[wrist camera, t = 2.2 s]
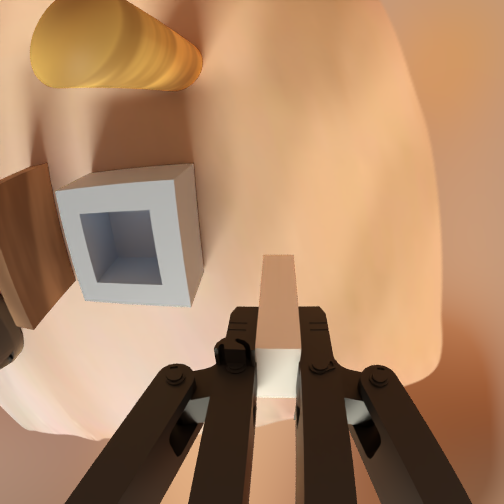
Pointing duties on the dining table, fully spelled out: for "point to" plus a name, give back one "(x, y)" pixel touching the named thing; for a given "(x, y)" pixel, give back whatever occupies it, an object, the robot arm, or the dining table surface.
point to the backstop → (31, 247)
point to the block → (135, 235)
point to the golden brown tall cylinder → (110, 48)
